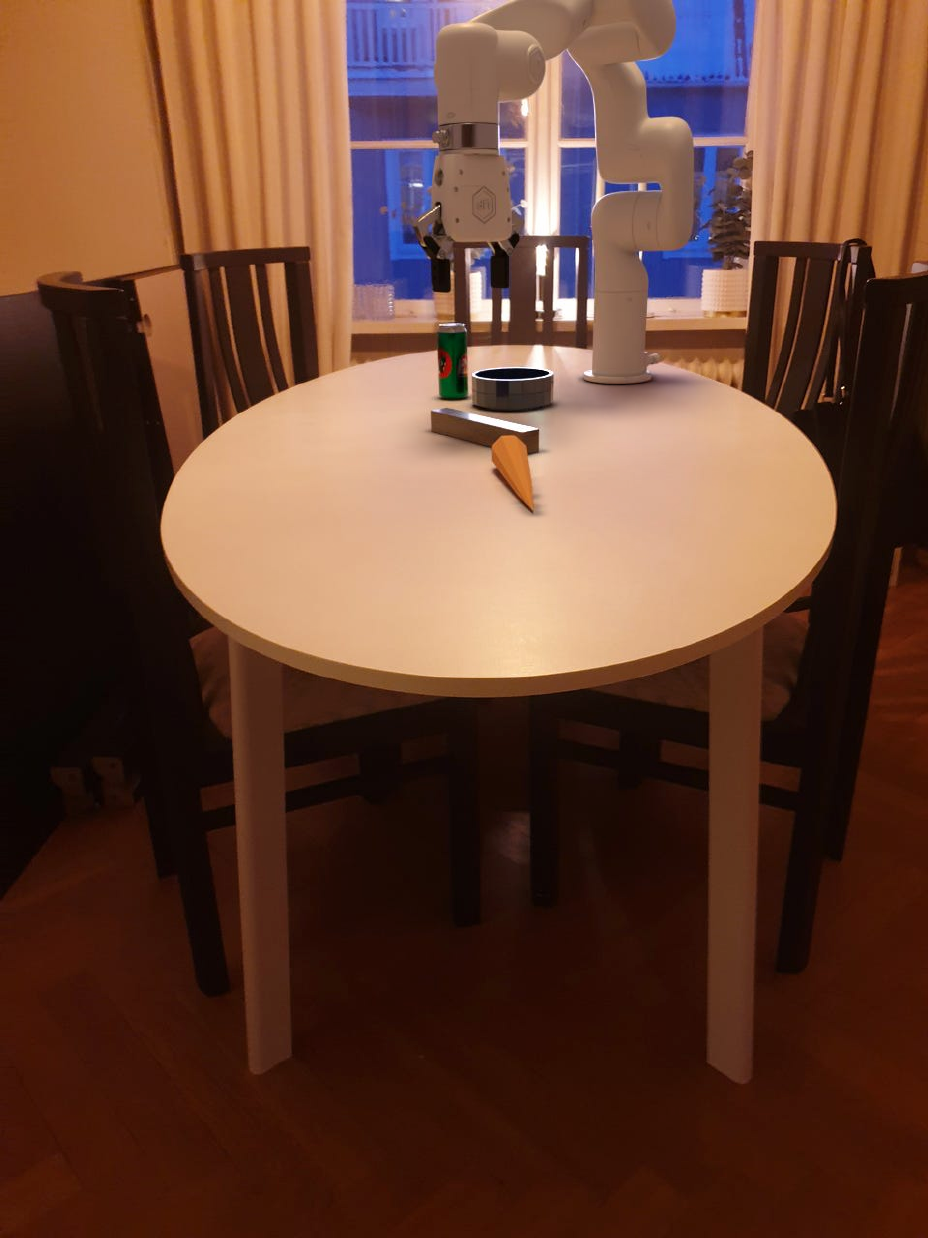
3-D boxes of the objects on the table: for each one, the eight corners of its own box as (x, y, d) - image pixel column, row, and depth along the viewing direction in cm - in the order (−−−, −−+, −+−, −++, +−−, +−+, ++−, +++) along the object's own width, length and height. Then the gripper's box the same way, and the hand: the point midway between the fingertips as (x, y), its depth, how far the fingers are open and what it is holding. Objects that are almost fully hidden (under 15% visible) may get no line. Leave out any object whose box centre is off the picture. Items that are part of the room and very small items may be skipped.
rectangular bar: (447, 428, 132) (447, 407, 131) (539, 451, 118) (539, 428, 117) (431, 431, 131) (430, 410, 130) (521, 455, 116) (522, 432, 115)
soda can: (465, 400, 152) (463, 326, 147) (436, 400, 153) (433, 326, 148) (471, 395, 157) (469, 322, 152) (442, 394, 158) (440, 322, 153)
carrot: (496, 471, 112) (482, 439, 110) (530, 456, 111) (516, 424, 109) (521, 537, 95) (505, 501, 92) (560, 520, 94) (545, 483, 92)
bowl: (516, 394, 156) (516, 364, 154) (569, 404, 147) (570, 373, 144) (456, 404, 149) (455, 373, 147) (507, 416, 139) (507, 383, 137)
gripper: (429, 137, 104) (434, 295, 111) (541, 142, 113) (539, 287, 120) (393, 143, 109) (400, 292, 116) (503, 147, 119) (503, 285, 126)
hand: (471, 289), depth 118 cm, fingers open, 9 cm apart
